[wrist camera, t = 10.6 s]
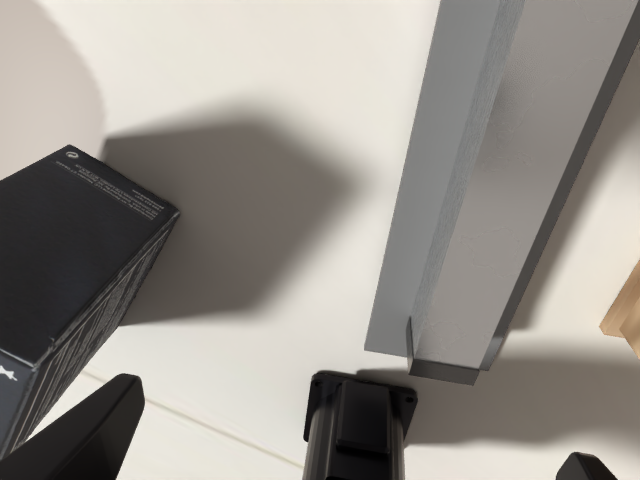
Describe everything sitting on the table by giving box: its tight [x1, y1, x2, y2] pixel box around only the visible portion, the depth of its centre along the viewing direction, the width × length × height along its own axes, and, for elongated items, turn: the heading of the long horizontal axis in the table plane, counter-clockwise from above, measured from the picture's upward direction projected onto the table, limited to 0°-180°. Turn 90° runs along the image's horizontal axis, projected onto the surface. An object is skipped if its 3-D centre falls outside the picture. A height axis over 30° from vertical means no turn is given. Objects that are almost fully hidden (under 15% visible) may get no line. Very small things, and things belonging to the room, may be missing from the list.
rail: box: [406, 0, 638, 386], centre depth 16 cm, size 22×3×3 cm, turn 174°
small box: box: [0, 145, 180, 460], centre depth 19 cm, size 11×6×10 cm, turn 146°
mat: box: [364, 0, 640, 371], centre depth 18 cm, size 26×7×1 cm, turn 174°
